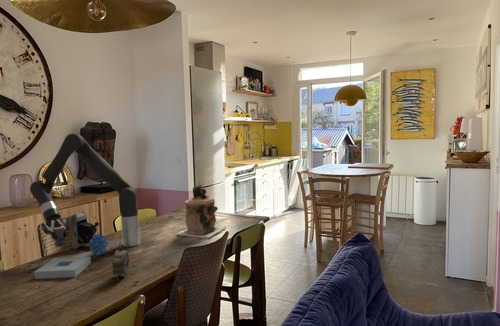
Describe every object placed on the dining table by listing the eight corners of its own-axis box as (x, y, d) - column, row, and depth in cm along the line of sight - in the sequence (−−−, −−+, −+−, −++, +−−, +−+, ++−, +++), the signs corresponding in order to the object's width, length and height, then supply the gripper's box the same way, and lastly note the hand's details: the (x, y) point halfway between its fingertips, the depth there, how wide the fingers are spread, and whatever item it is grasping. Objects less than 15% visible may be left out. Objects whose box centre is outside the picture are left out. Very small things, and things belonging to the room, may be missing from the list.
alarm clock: (119, 272, 169) (117, 238, 167) (131, 272, 169) (129, 237, 168) (112, 282, 158) (110, 245, 156) (125, 281, 158) (123, 244, 157)
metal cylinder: (67, 243, 192) (65, 224, 191) (62, 246, 187) (61, 226, 186) (57, 243, 192) (56, 225, 191) (53, 246, 187) (51, 227, 186)
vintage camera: (95, 250, 205) (94, 215, 204) (71, 249, 208) (70, 214, 207) (105, 245, 215) (105, 212, 213) (82, 244, 218) (81, 211, 216)
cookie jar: (174, 236, 227) (171, 185, 225) (194, 226, 250) (192, 180, 247) (209, 239, 218) (207, 186, 215) (227, 228, 241) (225, 180, 238)
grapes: (113, 253, 198) (112, 231, 197) (105, 257, 191) (103, 234, 190) (96, 251, 201) (94, 230, 200) (87, 255, 195) (85, 233, 194)
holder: (90, 263, 183) (90, 256, 183) (75, 277, 165) (74, 269, 165) (54, 264, 183) (53, 258, 182) (34, 279, 165) (34, 271, 165)
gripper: (36, 210, 187) (47, 236, 180) (65, 205, 198) (76, 230, 191) (34, 219, 192) (44, 245, 184) (62, 213, 202) (73, 238, 195)
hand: (60, 237), depth 188 cm, fingers closed on metal cylinder, 4 cm apart
